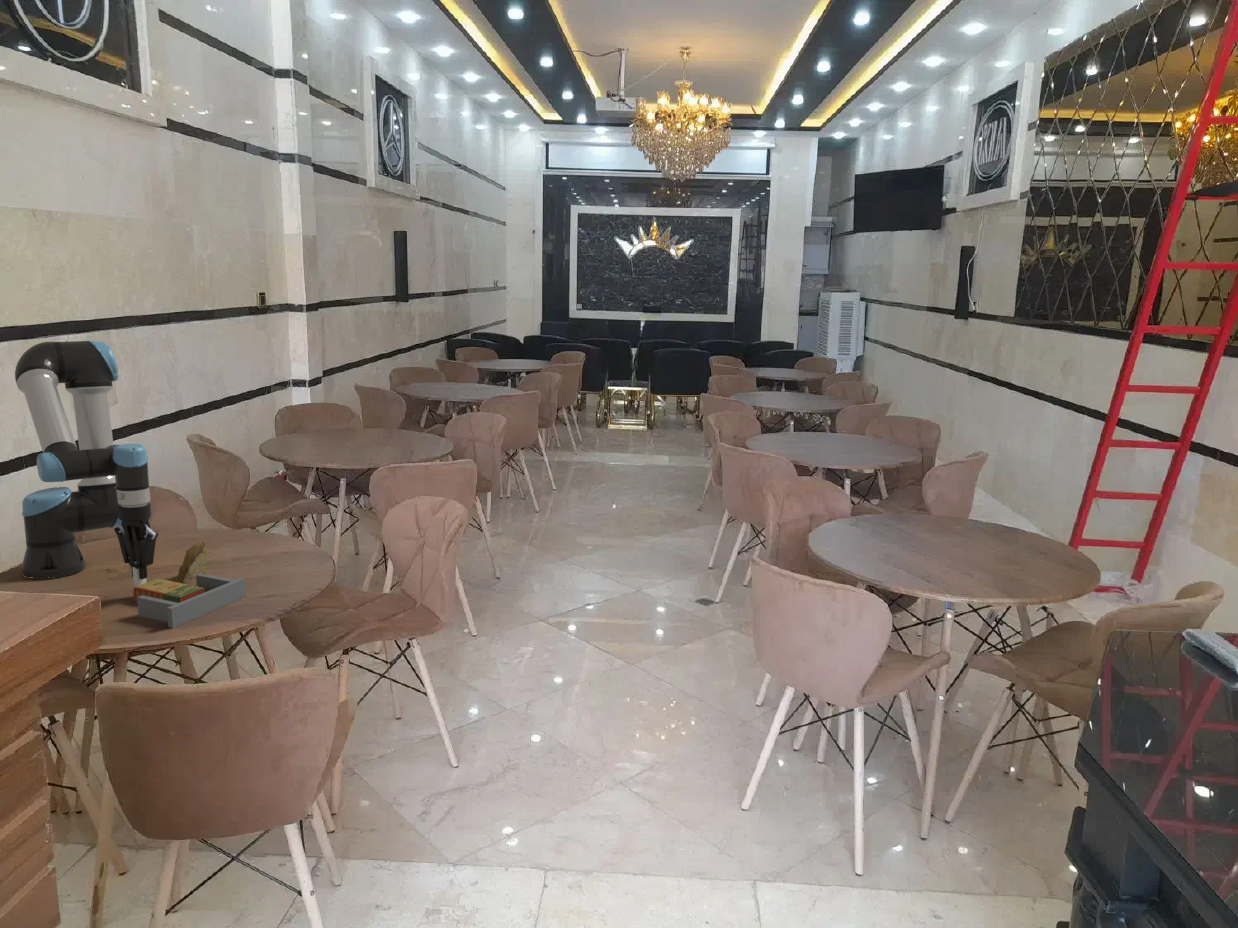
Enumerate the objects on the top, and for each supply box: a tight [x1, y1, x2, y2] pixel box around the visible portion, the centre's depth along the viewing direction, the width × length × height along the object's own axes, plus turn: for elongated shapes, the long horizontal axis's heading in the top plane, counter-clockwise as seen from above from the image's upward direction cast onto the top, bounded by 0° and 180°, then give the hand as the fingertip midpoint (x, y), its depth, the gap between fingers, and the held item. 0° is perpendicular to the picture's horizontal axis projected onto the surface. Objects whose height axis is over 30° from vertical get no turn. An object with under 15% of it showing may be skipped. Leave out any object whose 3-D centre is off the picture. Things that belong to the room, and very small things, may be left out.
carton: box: [133, 578, 205, 603], centre depth 227 cm, size 8×16×4 cm, turn 70°
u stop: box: [136, 573, 247, 629], centre depth 223 cm, size 14×24×5 cm, turn 160°
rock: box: [175, 542, 208, 584], centre depth 244 cm, size 11×9×10 cm
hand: (140, 589), depth 229 cm, fingers closed
